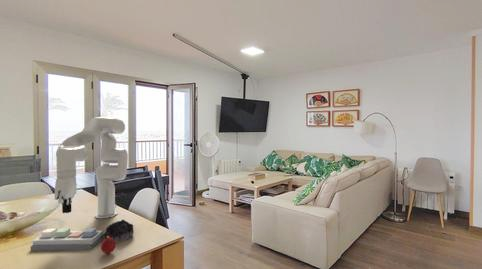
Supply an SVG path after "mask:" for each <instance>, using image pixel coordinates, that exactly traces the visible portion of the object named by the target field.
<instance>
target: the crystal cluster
mask: <svg viewBox="0 0 482 269" xmlns="http://www.w3.org/2000/svg"><path fill="white" fill-rule="evenodd" d="M133 235H134V224H132V223H129V221H126V220H125V219H121V220H118V221H116V222H115V221H114V222H112V223H111V224H109V225H108V226H107V227H106V229H105V233H104V238H103V239H104V240H105V239H106V238H107V236H109V237H110V238H112V239H113V240H114V241H115V242H116V243H119V242H123V241H124V242H125V241H126V240H128V239H129V238H131V237H132V236H133Z"/></svg>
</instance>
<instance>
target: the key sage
mask: <svg viewBox="0 0 482 269" xmlns="http://www.w3.org/2000/svg"><path fill="white" fill-rule="evenodd" d="M70 231H71V228H70V227H69V228H67V227H66V228H62V227H61V228H59V229H57V231H56V232H55V237H66V236H67V235H69V234H70Z"/></svg>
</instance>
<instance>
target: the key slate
mask: <svg viewBox="0 0 482 269" xmlns="http://www.w3.org/2000/svg"><path fill="white" fill-rule="evenodd" d="M82 231H83V237H92V236H94V235H95V234H96V233H97V231H98V230H97V227H88V228H85V230H82Z"/></svg>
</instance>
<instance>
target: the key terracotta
mask: <svg viewBox="0 0 482 269" xmlns="http://www.w3.org/2000/svg"><path fill="white" fill-rule="evenodd" d="M82 235H83V232H74V233H73V234H71V235H70V236H69V238H79V237H81V236H82Z"/></svg>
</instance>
